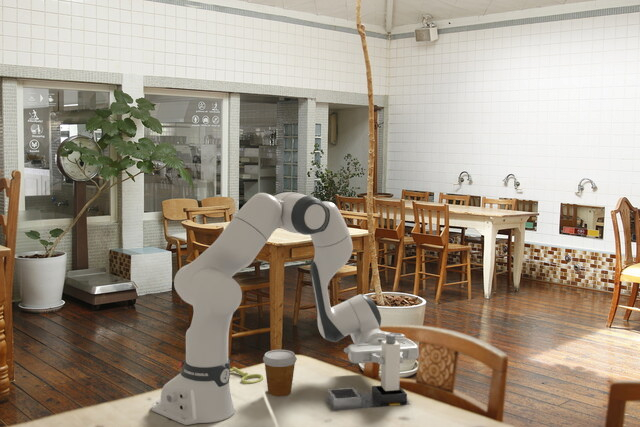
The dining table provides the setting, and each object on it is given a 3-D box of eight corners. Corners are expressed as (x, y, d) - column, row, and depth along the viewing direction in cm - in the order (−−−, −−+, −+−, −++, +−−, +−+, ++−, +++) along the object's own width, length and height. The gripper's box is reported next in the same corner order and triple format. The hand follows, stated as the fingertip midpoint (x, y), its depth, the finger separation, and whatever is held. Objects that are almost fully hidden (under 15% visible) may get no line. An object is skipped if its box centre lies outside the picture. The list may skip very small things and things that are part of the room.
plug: (385, 391, 190) (386, 338, 188) (380, 385, 194) (381, 333, 192) (399, 389, 191) (400, 337, 189) (394, 384, 195) (395, 333, 193)
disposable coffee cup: (264, 388, 202) (265, 348, 200) (297, 389, 201) (297, 349, 200) (260, 401, 192) (260, 359, 191) (294, 402, 192) (295, 360, 190)
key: (232, 372, 216) (232, 365, 216) (266, 379, 210) (266, 372, 210) (219, 379, 210) (219, 372, 210) (253, 387, 204) (253, 380, 204)
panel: (332, 414, 184) (332, 401, 184) (323, 400, 194) (323, 388, 193) (410, 407, 189) (410, 395, 189) (398, 394, 199) (398, 382, 198)
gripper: (342, 337, 201) (355, 352, 188) (408, 333, 206) (426, 347, 193) (342, 358, 202) (355, 374, 189) (408, 353, 207) (425, 369, 193)
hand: (391, 361), depth 191 cm, fingers closed on plug, 4 cm apart
